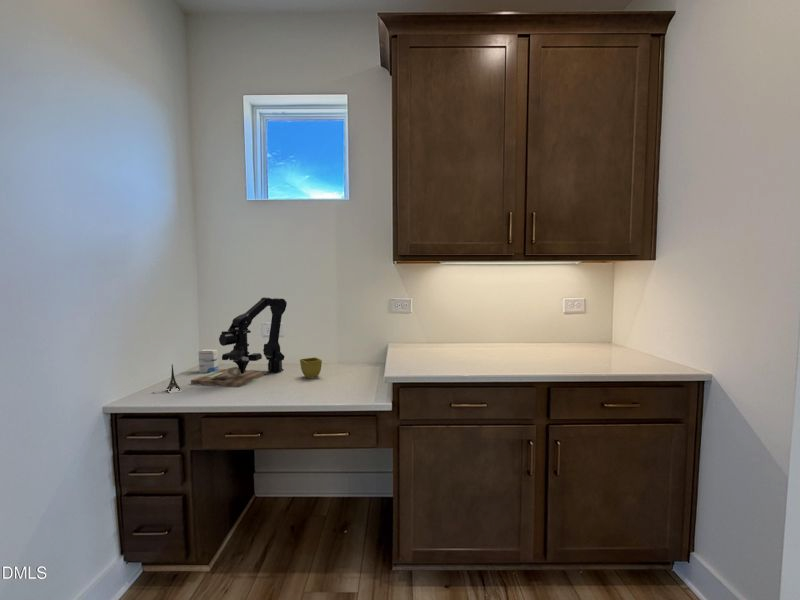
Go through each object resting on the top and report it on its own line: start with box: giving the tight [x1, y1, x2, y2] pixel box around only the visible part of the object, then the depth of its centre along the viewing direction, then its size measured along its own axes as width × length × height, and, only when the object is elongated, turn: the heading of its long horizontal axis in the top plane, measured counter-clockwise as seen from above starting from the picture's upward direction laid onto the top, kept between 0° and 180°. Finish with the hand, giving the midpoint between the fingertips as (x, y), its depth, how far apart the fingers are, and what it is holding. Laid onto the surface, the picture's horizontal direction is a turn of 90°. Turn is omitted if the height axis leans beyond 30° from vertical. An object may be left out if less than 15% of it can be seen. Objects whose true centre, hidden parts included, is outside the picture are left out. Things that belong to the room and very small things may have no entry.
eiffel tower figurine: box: [166, 364, 181, 391], centre depth 189 cm, size 15×10×13 cm
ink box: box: [197, 349, 219, 373], centre depth 225 cm, size 8×5×12 cm, turn 84°
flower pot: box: [299, 356, 323, 379], centre depth 211 cm, size 9×9×9 cm
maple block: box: [226, 366, 242, 377], centre depth 207 cm, size 5×5×4 cm
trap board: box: [190, 368, 266, 387], centre depth 208 cm, size 26×23×2 cm
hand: (242, 373), depth 206 cm, fingers closed
